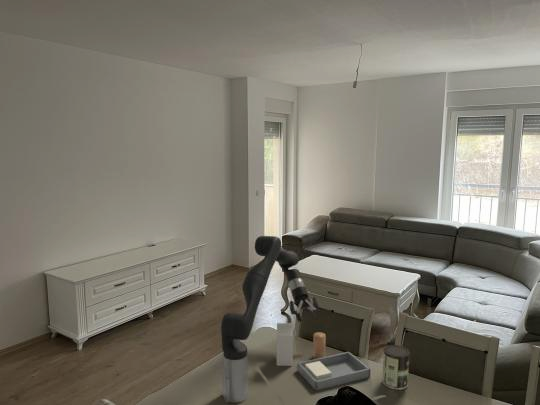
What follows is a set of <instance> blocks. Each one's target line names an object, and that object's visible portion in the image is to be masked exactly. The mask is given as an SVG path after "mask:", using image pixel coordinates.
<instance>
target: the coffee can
mask: <svg viewBox="0 0 540 405" xmlns="http://www.w3.org/2000/svg"><path fill="white" fill-rule="evenodd" d="M410 354H411V353H410V350H409V349H408V348H406V347H404V346H402V345H396V344H389V345H386V346H384V347H383V356H382V357H383V362H382V364H383V365H382V384H383V385H384V386H386V387H387V388H389V389H392V390H405V389H407V387H408V386H409V382H408V381H409V367H410V365H409V364H410Z"/></svg>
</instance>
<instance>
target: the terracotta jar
mask: <svg viewBox="0 0 540 405" xmlns="http://www.w3.org/2000/svg"><path fill="white" fill-rule="evenodd" d="M312 335H313V340H312V341H313V342H312V343H313V344H312V360H313V359H318V358H322V357H326V339H327V338H326V336H327V335H326V334H325V333H324V332H321V331H320V332H319V331H318V332H317V331H316V332H315V333H313V334H312Z"/></svg>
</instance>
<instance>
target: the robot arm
mask: <svg viewBox="0 0 540 405" xmlns="http://www.w3.org/2000/svg"><path fill="white" fill-rule="evenodd" d="M254 251H255V253H256V255H258V256H260V257H264V258H263V259H261V260H260V261H259V262H258V263H256V264H255V265H254V266H253V267H251V268H250V269H249V270H248V272H247V274H246V276H245V278H244V280H243V283H242V293H243V297H244V300H245V305H246V309H245V311H244V314H242V313H234V312H227V313H225V314H224V315H223V317H222V320H221V324H220V325H221V326H220V329H221V330H220V332H221V349H222V352H223V353H222V354H223V357H222V360H223V362H222V364H223V366H222V368H223V371H222V372H221V395H222V397H223V399H224V401H225V402H226V403H231V404H234V403H235V404H236V403H241V402H243V401H245V400H247V398H248V347H247V345H246V344H245V343H243V342H242V341H245V340H248V338H249V336H250V334H251V332H252V328H253V326H254V323H255V318H256V314H257V312H258V308H259V306H260V302H261V299H262V297H263V294H264V292H265V290H266V287H267V284H268V282H269V278H270V275H271V273H272V270H273V267H274V266H275V263H278V265H279V267H280V268H281V270H282V271H283V273H284V275H285V277H286V279H287V281H288V286H289V290H290V293H291V295H292V299H293V300H290V301H289V303H288V307H289V310H290V314H291V315H295V317H296V320H297V321H298V323H301V322H302V320H303V319H302V317H301V313H300V311H301V310H306V309H308V310H310V311H311V312H312V315H313V318H314V320H317V319H318V318H319V314H318V310H319V309H320V306H319V304H318V301H317V299H316V297H312V298H309V294H308V291H307V288H306V285H305V283H304V281H303V278H302V275H301V273H300V270H299V269H297V268H292V267H294V266H296V265H298V264H299V261H300V260H299V256H298V254H297V253H296V252H295V251H292V250H286V249H284V248H282V241H281V238H280V237H278V236H276V235H275V236H274V235H272V236H271V235H260V236H258V237H257V238H256V239H255V242H254ZM290 268H291V269H290ZM295 306H296V308H295Z"/></svg>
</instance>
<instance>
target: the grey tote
mask: <svg viewBox="0 0 540 405" xmlns="http://www.w3.org/2000/svg"><path fill="white" fill-rule="evenodd" d="M317 361H320V362H321V363H322V364H323V365H324V366H325V367H326V368H327V369H328V370H329V371H330V372H331V373H332V377H331V378H326V379H322V380H318V381H316V380H315V379H314V377H313V376H312V375H311V374H310V373H309V372H308V371H307V370H306V369H305V364H308V363H313V362H317ZM297 372H298V373H299V374H300V375H301V376H302V377H303V378H304V379H305V381H306V382H307V383H308V384H309V385H310V386H311V387H312V388H313V389H314V390H315V391H316V392H317V391H320V390H323V389H328V388H332V387H336V386H340V385H344V384H348V383H352V382H356V381H360V380H364V379H368V378H369V379H370V378H371V368H370V367H368V366H367V365H366V364H365V363H363V362H362V361H361V360H360V359H359V358H357V357H356V356H355V355H354V354H353V353H351V352H350V351H346V352H341V353H337V354H332V355H328V356H325V357H322V358H318V359H313V358H312V359H309V360H305V361H300V362H297Z"/></svg>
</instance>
